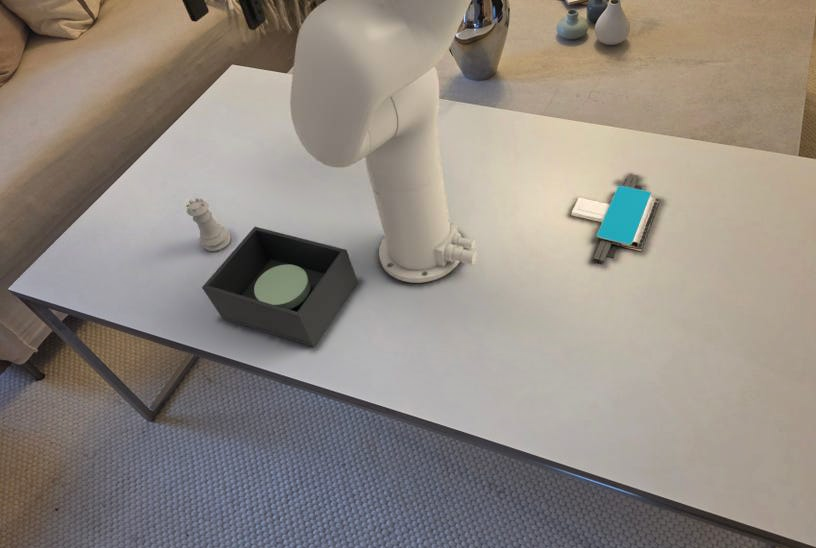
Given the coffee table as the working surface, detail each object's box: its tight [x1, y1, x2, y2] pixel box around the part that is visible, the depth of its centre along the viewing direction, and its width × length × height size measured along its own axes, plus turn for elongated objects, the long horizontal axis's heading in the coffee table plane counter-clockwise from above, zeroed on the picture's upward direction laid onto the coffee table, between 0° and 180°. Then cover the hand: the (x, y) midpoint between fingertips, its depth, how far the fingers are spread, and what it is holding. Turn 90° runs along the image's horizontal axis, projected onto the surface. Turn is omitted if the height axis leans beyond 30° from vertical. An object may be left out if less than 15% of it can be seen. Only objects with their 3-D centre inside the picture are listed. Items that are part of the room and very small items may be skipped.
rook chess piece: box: [185, 197, 232, 252], centre depth 89 cm, size 4×4×8 cm
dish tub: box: [201, 226, 359, 348], centre depth 81 cm, size 15×12×7 cm
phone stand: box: [571, 173, 661, 264], centre depth 89 cm, size 20×12×2 cm, turn 157°
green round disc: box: [254, 265, 311, 310], centre depth 82 cm, size 7×7×3 cm
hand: (229, 21), depth 81 cm, fingers open, 9 cm apart
